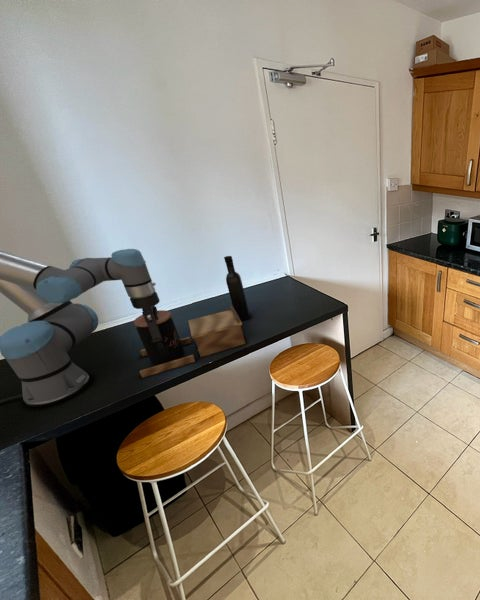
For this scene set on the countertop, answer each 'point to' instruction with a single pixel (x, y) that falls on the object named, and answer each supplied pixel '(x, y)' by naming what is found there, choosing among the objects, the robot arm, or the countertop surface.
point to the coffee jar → (167, 333)
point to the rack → (206, 338)
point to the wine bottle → (236, 290)
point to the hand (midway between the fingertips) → (164, 347)
